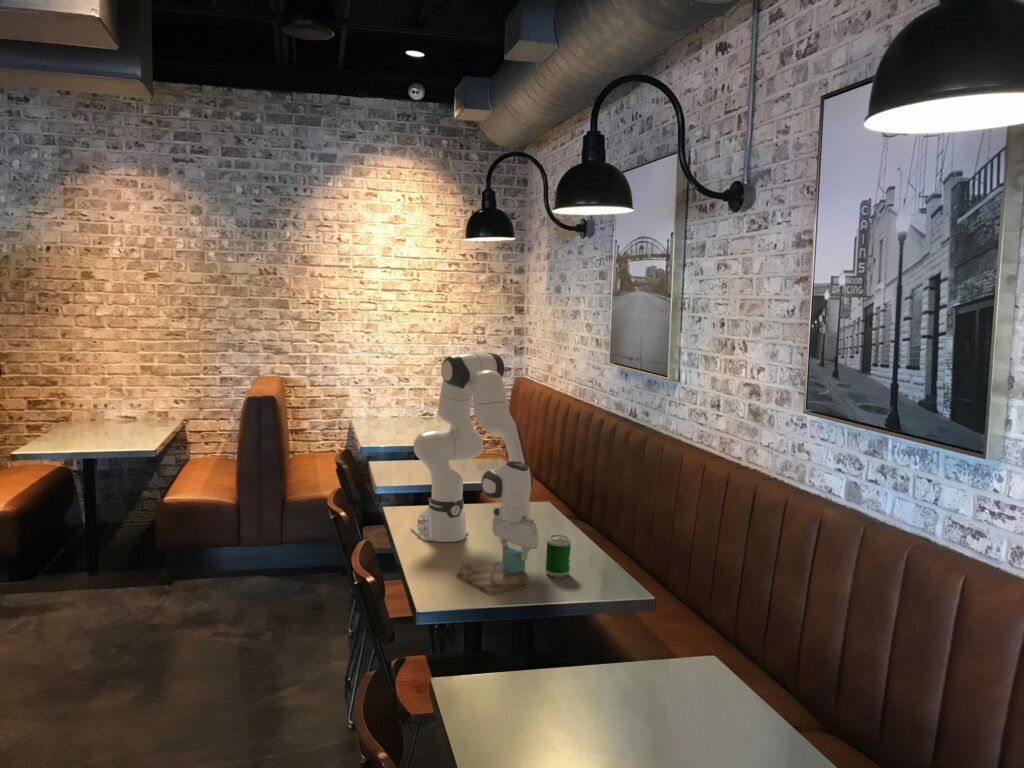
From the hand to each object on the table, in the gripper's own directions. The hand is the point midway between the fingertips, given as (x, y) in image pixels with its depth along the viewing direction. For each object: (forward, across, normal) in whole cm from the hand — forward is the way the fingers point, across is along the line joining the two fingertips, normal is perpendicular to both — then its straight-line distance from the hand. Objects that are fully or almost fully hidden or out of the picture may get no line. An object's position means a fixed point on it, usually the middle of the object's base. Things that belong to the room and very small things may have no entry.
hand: (514, 556), depth 257 cm
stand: (+5, -4, +12) cm, 13 cm away
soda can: (+5, -9, -10) cm, 15 cm away
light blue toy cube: (+5, +1, 0) cm, 5 cm away
